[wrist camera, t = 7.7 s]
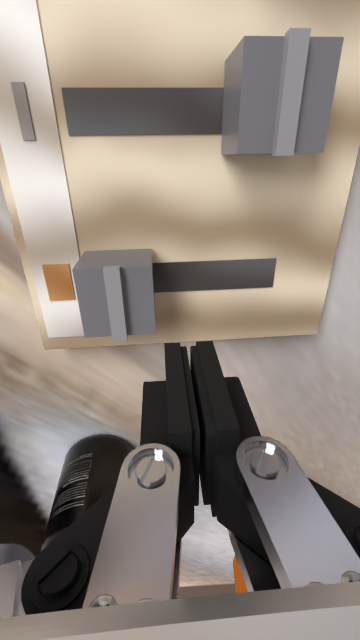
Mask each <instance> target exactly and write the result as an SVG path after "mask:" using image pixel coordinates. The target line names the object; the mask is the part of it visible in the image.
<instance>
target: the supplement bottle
mask: <svg viewBox="0 0 360 640" xmlns="http://www.w3.org/2000/svg"><path fill="white" fill-rule="evenodd" d="M132 450H133V448H132V447H131V446H130V445H129V444H128V443H127V442H125V441H124V440H122V439H120V438H117V437H114V436H109V435H95V436H90V437H87V438H84V439H82V440H80V441H78V442H77V443H75V444H74V445H73V446H72V447H71V448H70V449H69V451H68V453H67V455H66V457H65V461H64V464H63V468H62V472H61V475H60V479H59V483H58V487H57V491H56V494H55V498H54V502H53V506H52V510H51V513H50V517H49V521H48V525H47V529H46V533H45V536H44V540H43V545H42V549H41V551H42V550H43V549H44V548H45V547H46V546H48V545H49V544H50V543H51V542H52V541H53V540H54V539H55V538H56V537H58V536H59V535H60V534H61V533H62V532H63V531H64V530H65V529H66V528H68V527H69V526H70V525H71V524H72V523H73V522H74V521H75V520H76V519H78V518H79V517H80V516H81V515H82V514H83V513H84V512H85V511H86V510H88V509H89V508H90V507H91V506H92V505H93V504H94V503H95V502H96V501H98V500H99V499H100V498H101V497H102V496H103V495H104V494H105V493H106V492H108V491H109V490H110V489H111V488H112V487H113V486H114V485H115V484H116V483H117V481H118V477H119V474H120V470H121V467H122V464H123V462H124V460H125V458H126V457H127V455H128V454H129V453H130V452H131V451H132Z"/></svg>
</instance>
